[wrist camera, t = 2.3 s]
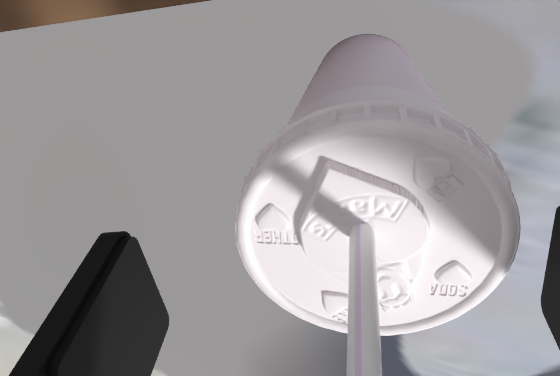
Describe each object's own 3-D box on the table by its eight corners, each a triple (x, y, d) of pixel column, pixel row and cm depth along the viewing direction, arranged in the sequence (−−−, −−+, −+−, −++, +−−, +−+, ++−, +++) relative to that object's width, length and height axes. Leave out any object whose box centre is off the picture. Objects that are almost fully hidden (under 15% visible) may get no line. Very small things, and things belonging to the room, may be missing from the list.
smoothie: (421, -38, 16) (577, 224, 5) (470, 122, 19) (638, 518, 8) (254, 39, 18) (89, 345, 7) (322, 172, 21) (282, 537, 10)
